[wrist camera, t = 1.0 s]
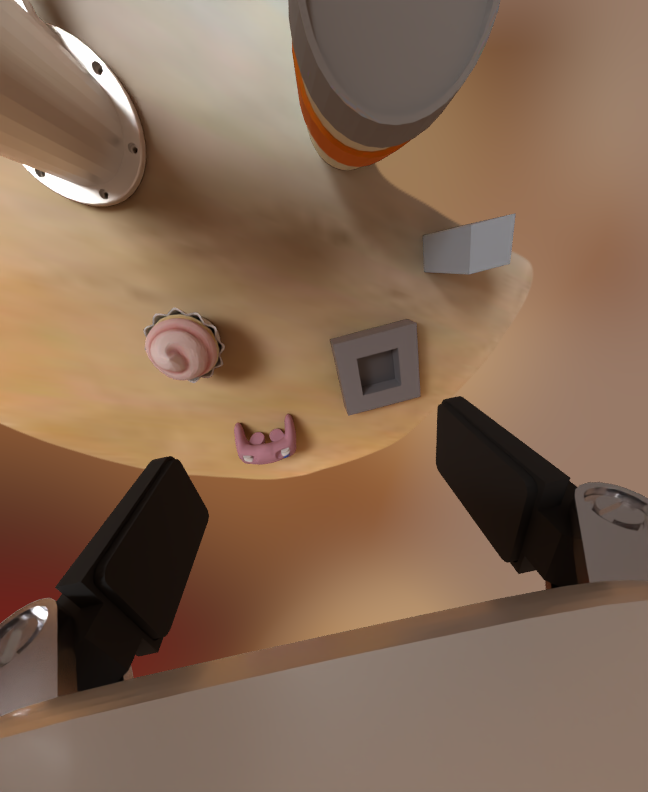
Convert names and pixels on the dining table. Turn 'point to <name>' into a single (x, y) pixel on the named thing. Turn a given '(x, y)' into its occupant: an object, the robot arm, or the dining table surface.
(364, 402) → the socket
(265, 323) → the dining table surface
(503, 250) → the plug
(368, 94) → the reusable coffee cup
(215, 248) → the dining table surface
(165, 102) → the dining table surface
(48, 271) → the dining table surface
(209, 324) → the cupcake
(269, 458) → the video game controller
